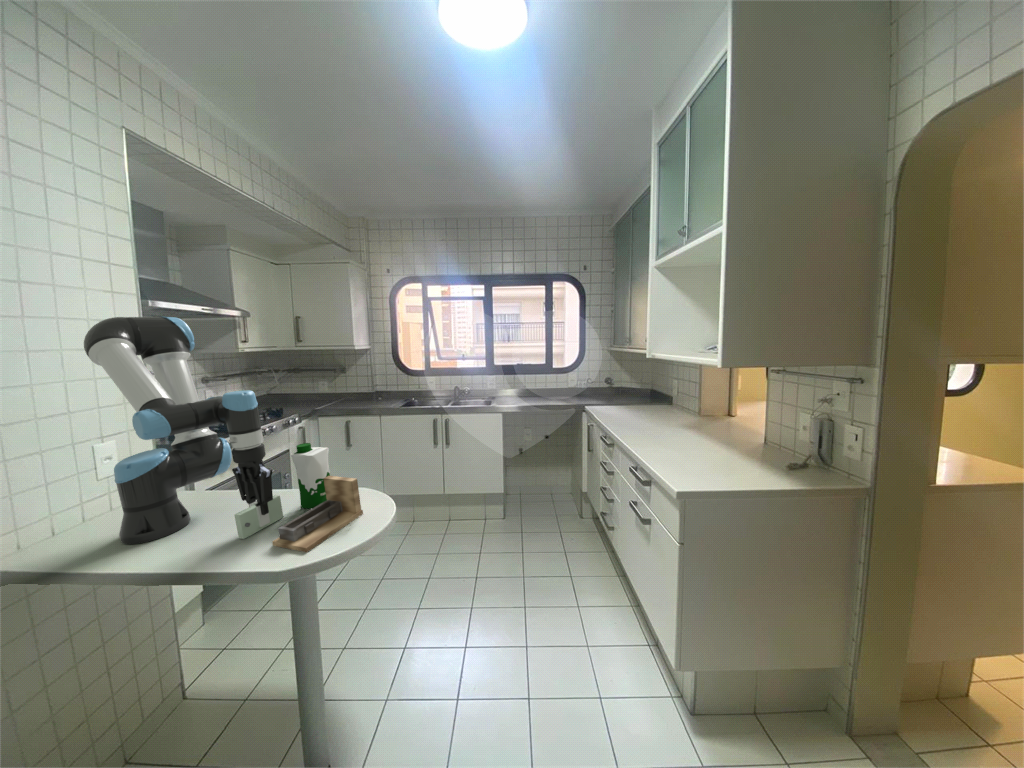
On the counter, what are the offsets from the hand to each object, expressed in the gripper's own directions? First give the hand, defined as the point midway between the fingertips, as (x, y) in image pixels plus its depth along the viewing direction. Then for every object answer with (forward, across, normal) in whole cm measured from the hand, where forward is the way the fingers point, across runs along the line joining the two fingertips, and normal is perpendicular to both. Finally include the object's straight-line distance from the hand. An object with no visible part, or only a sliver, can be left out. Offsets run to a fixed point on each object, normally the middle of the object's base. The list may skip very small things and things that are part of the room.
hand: (261, 523), depth 108 cm
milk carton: (+1, +4, +16) cm, 17 cm away
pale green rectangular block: (+1, 0, 0) cm, 1 cm away
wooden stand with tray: (+1, +18, +4) cm, 19 cm away
